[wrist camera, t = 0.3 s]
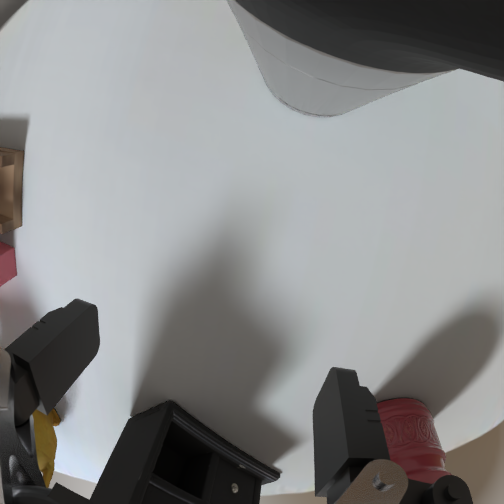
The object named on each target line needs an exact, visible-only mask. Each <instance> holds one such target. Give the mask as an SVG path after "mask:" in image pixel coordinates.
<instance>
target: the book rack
mask: <svg viewBox="0 0 504 504" xmlns="http://www.w3.org/2000/svg"><path fill="white" fill-rule="evenodd" d="M23 159H24V151H20V150H14V149H7V148H1V147H0V234H4V233H6V232H8V231H11V230H14V229H16V228H19V227H21V226H22V174H23Z"/></svg>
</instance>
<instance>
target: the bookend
mask: <svg viewBox="0 0 504 504" xmlns="http://www.w3.org/2000/svg"><path fill="white" fill-rule="evenodd" d="M278 478H280V474H279V473H278V472H276V471H274V470H272V469H271V468H269V467H267V466H265V465H264V464H262V463H260V462H258V461H257V460H255V459H254V458H252V457H250V456H249V455H247V454H246V453H244V452H242V451H241V450H239V449H237V448H236V447H235V446H233V445H232V444H230V443H228V442H227V441H225V440H224V439H222V438H221V437H220V436H218V435H217V434H215V433H214V432H212V431H211V430H209V429H208V428H207V427H205V426H204V425H202V424H201V423H200V422H198V421H197V420H195V419H194V418H193V417H191V416H190V415H189V414H188V413H186V412H185V411H184V410H182V409H181V408H180V407H178V406H177V405H176V404H174V403H173V402H172V401H167V402H165V403H163V404H161V405H158V406H156V407H154V408H151V409H149V410H148V411H146V412H143V413H140V414H139V415H136V416H134V417H132V418H130V419H128V421H127V423H126V426H125V427H124V430H123V432H122V434H121V436H120V438H119V440H118V442H117V444H116V446H115V448H114V450H113V452H112V454H111V456H110V458H109V460H108V462H107V464H106V466H105V468H104V471H103V473H102V475H101V477H100V479H99V481H98V483H97V486H96V488H95V490H94V492H93V494H92V496H91V498H90V500H91V501H92V502H94V503H95V504H259V501H260V492H261V485H263V484H267V483H271V482H274V481H276V480H278Z"/></svg>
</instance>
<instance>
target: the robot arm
mask: <svg viewBox="0 0 504 504" xmlns="http://www.w3.org/2000/svg"><path fill="white" fill-rule="evenodd" d="M227 2H228V4H229V6H230V8H231V10H232V12H233V13H234V15H235V17H236V19H237V21H238V23H239V25H240V28H241V30H242V32H243V34H244V36H245V38H246V40H247V42H248V45H249V47H250V49H251V51H252V53H253V55H254V58H255V60H256V62H257V64H258V67H259V69H260V71H261V73H262V75H263V78H264V80H265V82H266V85H267V86H268V88H269V89H270V90H271V92H272V93H273V95H274V96H275V97H276V98H277V99H279V100H280V101H281V102H282V103H283V104H284V105H286V106H288V107H289V108H291V109H292V110H294V111H297V112H300V113H302V114H305V115H310V116H315V117H332V116H337V115H342V114H344V113H346V112H349V111H351V110H353V109H356V108H359V107H361V106H363V105H366V104H368V103H370V102H373V101H375V100H378V99H380V98H383V97H385V96H387V95H390V94H392V93H395V92H397V91H400V90H403V89H405V88H408V87H410V86H413V85H416V84H418V83H420V82H423V81H425V80H428V79H431V78H434V77H436V76H439V75H442V74H445V73H448V72H451V71H454V70H456V69H459V68H460V69H463V70H467V71H470V72H474V73H477V74H480V75H484V76H487V77H490V78H494V79H497V80H501V81H504V0H227ZM99 345H100V336H99V323H98V310H97V307H96V305H94V304H91V303H88V302H86V301H83V300H80V299H74V300H73V301H72V302H70V303H69V304H68V305H67V306H66V307H64V308H62V307H61V308H58V309H56V310H53V311H51V312H49V313H47V314H46V315H45V316H44V317H43V318H41V319H40V321H38V322H36V323H35V324H34V325H33V326H32V328H31V327H30V328H29V329H28V330H27V331H26V332H24V333H23V334H22V335H21V336H20V337H19V338H17V339H16V340H15V341H14V342H13V343H12V344H10V345H9V346H8V347H7V348H6V349H5V350H4V349H2V348H0V504H95V503H94V502H92V501H91V500H89V499H87V498H84V497H83V496H80V495H78V494H77V493H74V492H73V491H71V490H69V489H67V488H65V487H64V486H62V485H60V484H58V483H56V484H55V485H54V487H53V488H52V489H50V488H46V485H45V482H44V479H43V476H42V474H41V471H40V469H39V465H38V460H37V452H36V443H35V432H34V419H33V416H32V414H33V412H34V411H35V410H36V409H37V410H39V411H40V412H42V413H44V414H45V415H47V416H48V414H49V413H50V412H51V411H52V409H53V408H54V407H55V405H56V404H57V403H58V402H59V400H60V399H61V398H62V397H63V395H64V394H65V393H66V392H67V390H68V389H69V388H70V387H71V385H72V384H73V383H74V382H75V380H76V379H77V378H78V377H79V376H80V374H81V373H82V372H83V371H84V369H85V368H86V367H87V366H88V365H89V363H90V362H91V361H92V360H93V359H94V357H95V356H96V354H97V352H98V349H99ZM313 433H314V465H315V496H318V497H327V504H473V502H472V498H471V494H470V491H469V488H468V486H467V484H466V483H465V482H464V481H463V480H462V479H461V478H459V477H457V476H454V475H445V476H442V477H440V478H439V479H438V480H437V481H436V482H435V483H433V484H430V483H425V482H421V481H416V480H412V479H409V478H408V477H407V475H406V473H405V471H404V470H403V468H402V467H401V466H399V465H398V464H397V463H395V462H393V461H391V459H390V455H389V451H388V447H387V442H386V438H385V434H384V430H383V426H382V423H381V418H380V415H379V413H378V407H377V403H376V400H375V398H374V396H373V395H372V394H371V392H370V391H369V390H368V388H367V387H363V386H360V385H359V381H358V377H357V373H356V371H355V370H350V369H344V368H337V367H332V368H331V369H330V371H329V373H328V375H327V378H326V380H325V382H324V384H323V386H322V388H321V390H320V392H319V394H318V396H317V398H316V401H315V404H314V409H313Z"/></svg>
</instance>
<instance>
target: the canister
mask: <svg viewBox="0 0 504 504" xmlns="http://www.w3.org/2000/svg"><path fill="white" fill-rule="evenodd" d="M377 407H378V413H379V415H380V418H381V423H382V426H383V430H384V434H385V438H386V442H387V447H388V451H389V455H390V459H391V461H393V462H395V463H397V464H398V465H399V466H401V467H402V468H403V470H404V471H405V473H406V475H407V477H408V478H409V479H412V480H416V481H421V482H425V483H430V484H433V483H435V482H436V481H437V480H438V479H439V478H440V477H442V476H445V475H451V473H449V472H448V471H446V470H445V466H444V463H445V460H446V454H445V452H444V451H443V450H442V447H441V444H440V441H439V438H438V435H437V433H436V430H435V427H434V420H433V417H432V415H431V412H430V411H429V410H428V409H427V407H426V406H425V405H424V404H423V403H422V402H420V401H418V400H415V399H410V398H399V399H392V400H387V401H383V402H380V403H377Z"/></svg>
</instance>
